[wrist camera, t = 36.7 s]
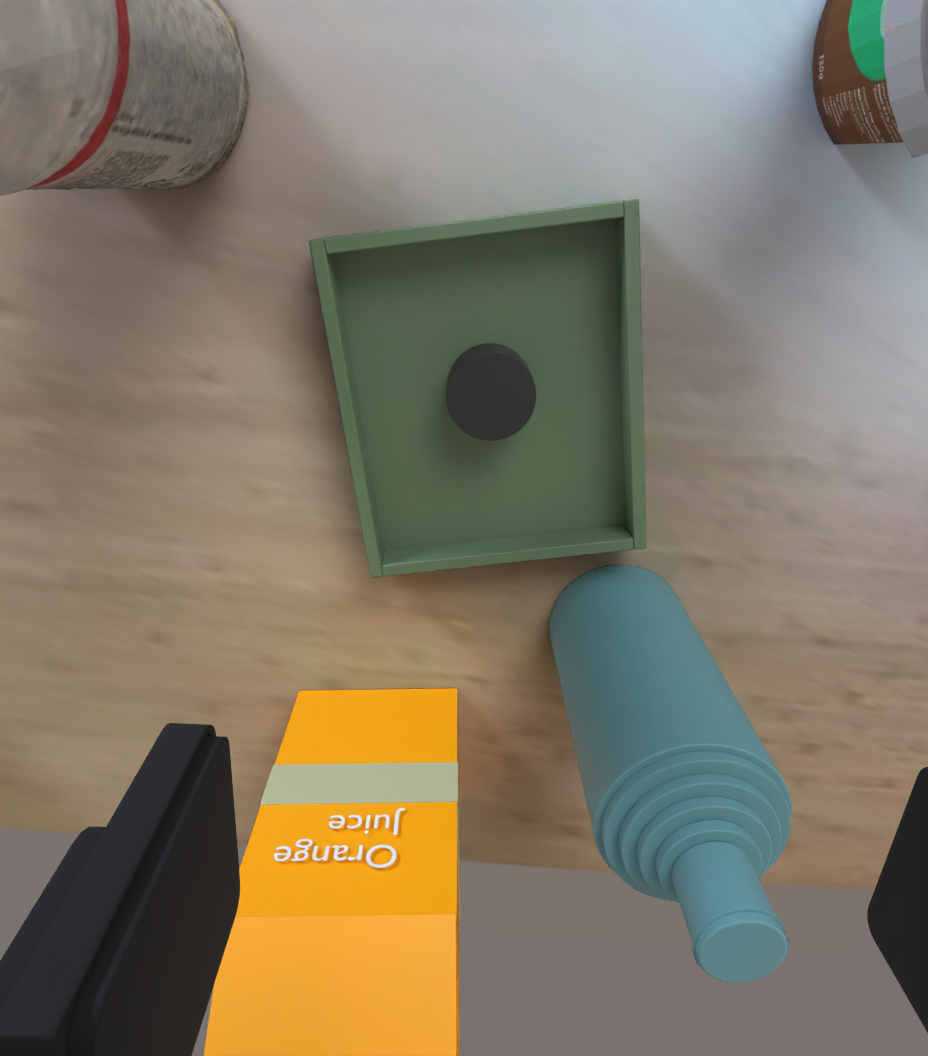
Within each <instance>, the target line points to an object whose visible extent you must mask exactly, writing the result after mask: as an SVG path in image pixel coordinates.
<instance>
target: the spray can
mask: <svg viewBox="0 0 928 1056" xmlns="http://www.w3.org/2000/svg"><path fill="white" fill-rule="evenodd" d="M243 60H244V58H243V54H242V52H241V49H240V44H239V40H238V35H237V30H236V26H235V22H234V20H233V19H232V18H231V16H230V15H229V13H228V12H227V10H226V9H225V7H224V6H223V5H222V4H221V3H220V1H219V0H0V195H7V194H11V193H14V192H18V191H22V190H29V189H33V190H37V189H68V190H70V189H73V188H79V189H140V188H147V189H160V188H168V189H174V188H176V189H182V188H183V187H187V186H189V185H192V184H193V183H195V182H197V181H200V180H202V179H203V178H204V177H205V176H207V175H209V174H211V173H213V172H214V171H216V170H217V169H218V168H219V167H220V165H221V164H222V162H223V160H224V159H227V158H228V156H229V155H230V154H229V153H230V152H231V148H232V147H233V145H234V144H235V142H236V138H237V137H238V136H239V133H240V130H241V126H242V124H243V119H244V114H245V112H244V111H245V110H246V109H245V104H247V98H248V96H249V95H248V82H247V78H246V70H245V67H244V64H243Z"/></svg>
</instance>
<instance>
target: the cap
mask: <svg viewBox="0 0 928 1056" xmlns="http://www.w3.org/2000/svg"><path fill="white" fill-rule="evenodd" d="M446 398H447V406H448V410H449V413H450V415H451V417H452V419H453V421H454V422H455V424H456V425H457V426H458V427H459V428H460V429H461V430H462V431H463V432H465V433H466V434H468V435H470V436H472V437H474V438H477V439H480V440H486V441H496V440H501V439H505V438H508V437H510V436H512V435H514V434H515V433H517V432H518V431H519V430H521V429H522V428H523V427H524V426H525V425H526V423H527V422H528V421H529V419H530V418H531V416H532V414H533V411H534V408H535V405H536V386H535V383H534V380H533V377H532V375H531V373H530V371H529V369H528V367H527V365H526V363H525V361H524V360H523V359H522V358H521V356H519V355H518V354H517V353H516V352H515V351H513V350H512V349H510V348H508V347H506V346H503V345H500V344H493V343H486V344H480V345H477V346H474V347H472V348H470V349H468V350H466V351H465V352H464V353H462V354H461V355H460V356H459V357H458V358H457V359H456V361H455V362H454V364H453V366H452V367H451V370H450V372H449V376H448V381H447V395H446Z"/></svg>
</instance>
